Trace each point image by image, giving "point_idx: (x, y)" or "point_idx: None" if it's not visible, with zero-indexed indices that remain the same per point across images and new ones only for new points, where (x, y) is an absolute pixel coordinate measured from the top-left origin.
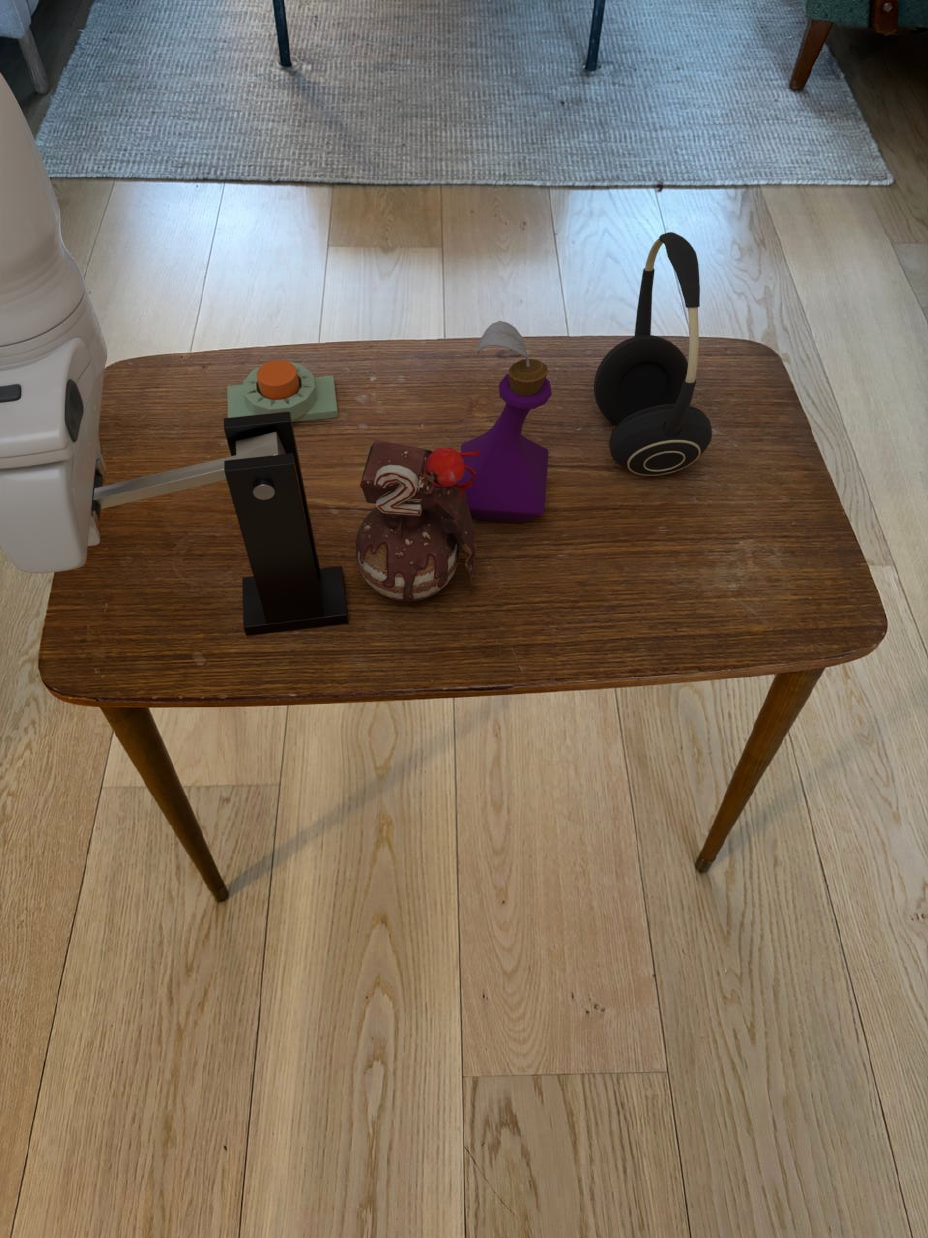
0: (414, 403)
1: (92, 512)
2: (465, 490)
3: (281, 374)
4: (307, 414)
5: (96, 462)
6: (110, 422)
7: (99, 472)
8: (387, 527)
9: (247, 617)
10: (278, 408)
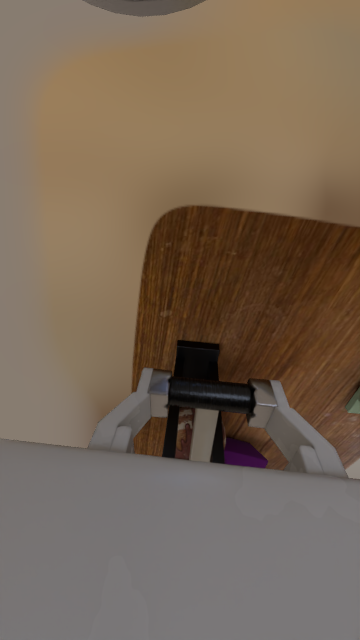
0: (329, 436)
1: (164, 415)
2: (226, 462)
3: None
4: (357, 399)
5: (259, 425)
6: None
7: (247, 416)
8: (188, 458)
9: (184, 349)
10: None
